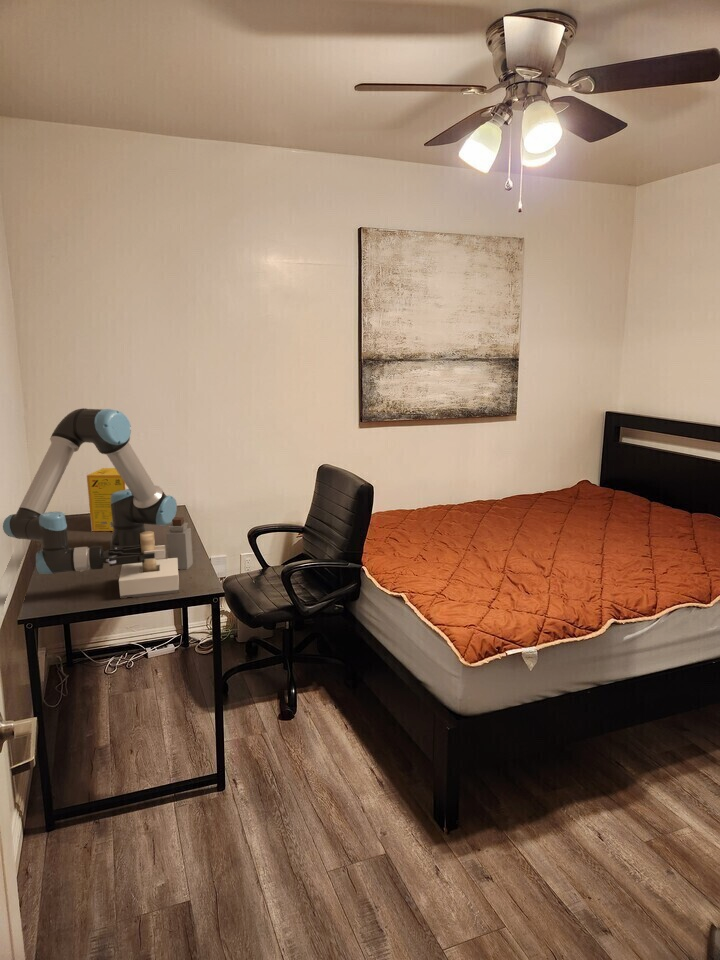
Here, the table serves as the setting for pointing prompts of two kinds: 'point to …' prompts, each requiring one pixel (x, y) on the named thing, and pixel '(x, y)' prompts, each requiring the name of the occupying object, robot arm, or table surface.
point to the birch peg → (148, 545)
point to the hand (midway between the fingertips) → (165, 551)
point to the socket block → (149, 579)
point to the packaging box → (103, 496)
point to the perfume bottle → (180, 543)
